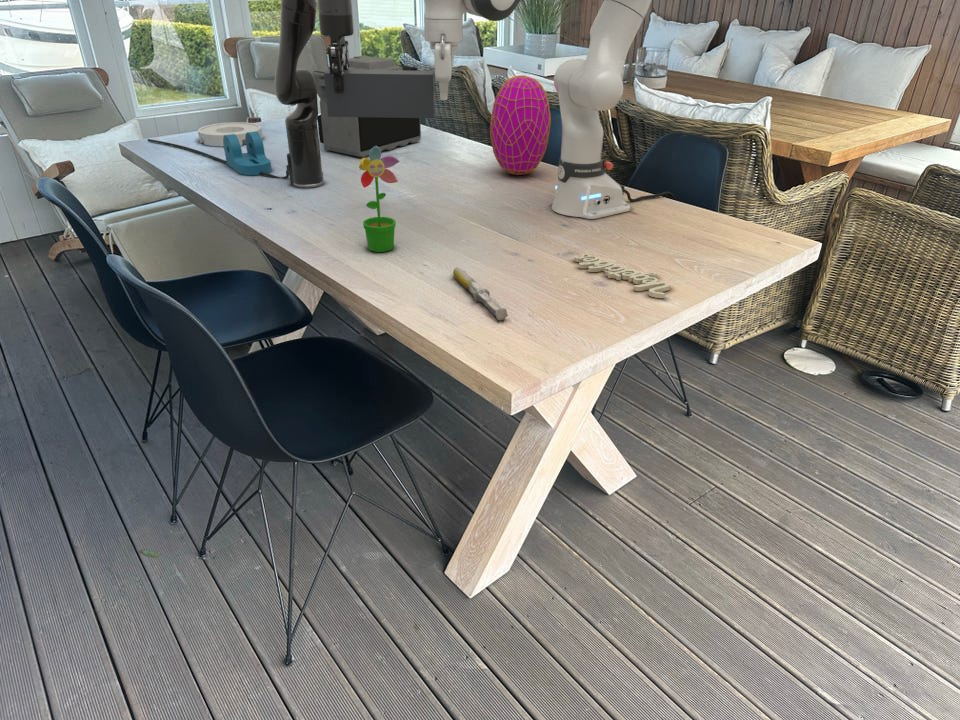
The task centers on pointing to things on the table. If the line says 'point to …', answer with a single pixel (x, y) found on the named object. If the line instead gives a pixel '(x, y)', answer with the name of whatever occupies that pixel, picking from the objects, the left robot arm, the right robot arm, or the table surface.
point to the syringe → (479, 293)
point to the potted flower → (378, 227)
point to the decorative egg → (520, 125)
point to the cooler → (364, 119)
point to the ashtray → (226, 132)
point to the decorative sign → (625, 274)
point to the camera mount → (246, 154)
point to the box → (382, 94)
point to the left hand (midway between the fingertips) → (341, 90)
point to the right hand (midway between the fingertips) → (444, 96)
